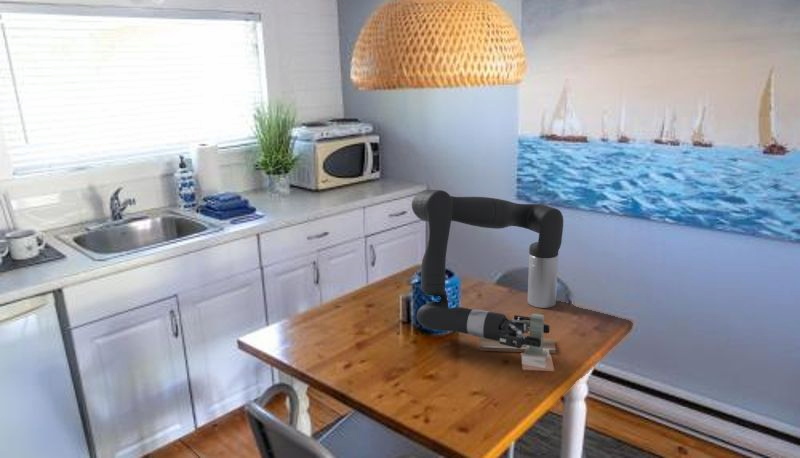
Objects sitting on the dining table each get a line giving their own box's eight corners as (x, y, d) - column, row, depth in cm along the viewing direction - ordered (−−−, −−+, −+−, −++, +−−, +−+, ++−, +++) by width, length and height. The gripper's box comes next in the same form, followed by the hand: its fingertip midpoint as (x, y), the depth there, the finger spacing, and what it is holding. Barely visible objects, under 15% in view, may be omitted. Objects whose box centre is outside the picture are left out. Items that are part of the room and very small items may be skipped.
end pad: (520, 354, 157) (520, 353, 157) (550, 355, 156) (550, 354, 156) (522, 369, 149) (522, 368, 149) (553, 371, 148) (554, 369, 148)
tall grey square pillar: (526, 353, 156) (528, 310, 153) (548, 357, 154) (550, 313, 150) (521, 363, 151) (523, 319, 148) (544, 368, 149) (546, 323, 145)
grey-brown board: (479, 338, 167) (479, 335, 166) (552, 341, 164) (552, 338, 163) (479, 350, 160) (479, 347, 160) (555, 353, 157) (555, 350, 157)
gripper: (477, 322, 150) (538, 334, 142) (495, 302, 162) (552, 312, 154) (477, 348, 152) (537, 361, 144) (494, 326, 164) (551, 337, 156)
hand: (545, 336), depth 149 cm, fingers open, 8 cm apart
